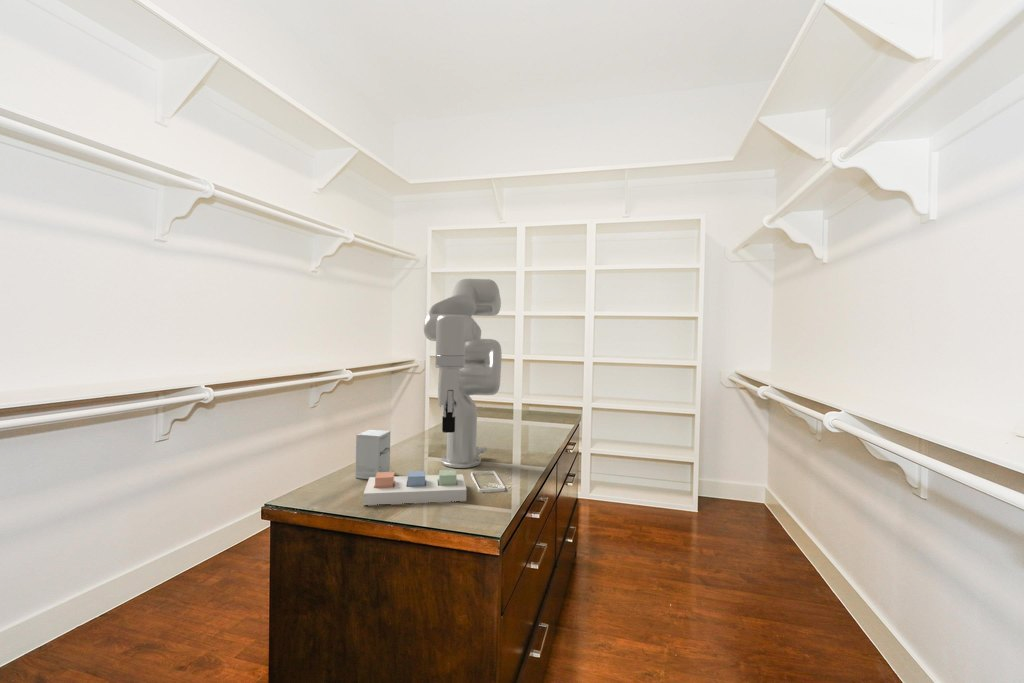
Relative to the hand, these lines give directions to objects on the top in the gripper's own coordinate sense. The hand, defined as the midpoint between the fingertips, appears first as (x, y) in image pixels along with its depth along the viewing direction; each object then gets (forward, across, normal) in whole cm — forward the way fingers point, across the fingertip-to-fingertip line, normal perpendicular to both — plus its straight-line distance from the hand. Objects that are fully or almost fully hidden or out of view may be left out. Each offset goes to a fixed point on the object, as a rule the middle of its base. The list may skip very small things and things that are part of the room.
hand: (448, 431), depth 122 cm
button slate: (+14, 0, -8) cm, 16 cm away
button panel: (+16, 0, -8) cm, 18 cm away
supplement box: (+17, -17, -21) cm, 32 cm away
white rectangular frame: (+17, -8, +12) cm, 22 cm away
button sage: (+14, 0, 0) cm, 14 cm away
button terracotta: (+14, 0, -16) cm, 21 cm away
